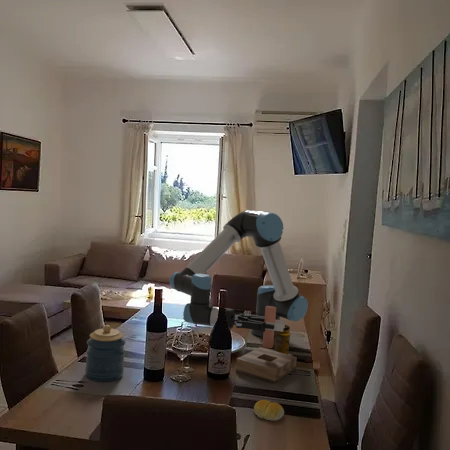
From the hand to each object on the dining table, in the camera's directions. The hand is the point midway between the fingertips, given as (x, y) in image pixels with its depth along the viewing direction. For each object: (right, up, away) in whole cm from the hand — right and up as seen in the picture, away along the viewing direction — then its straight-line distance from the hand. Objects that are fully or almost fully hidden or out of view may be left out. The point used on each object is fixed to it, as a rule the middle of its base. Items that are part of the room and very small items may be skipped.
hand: (283, 326), depth 176 cm
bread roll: (-9, -20, -33) cm, 39 cm away
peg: (-6, -8, +2) cm, 10 cm away
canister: (-64, -14, -13) cm, 67 cm away
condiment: (+1, -17, +23) cm, 28 cm away
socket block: (-6, -17, +2) cm, 19 cm away
